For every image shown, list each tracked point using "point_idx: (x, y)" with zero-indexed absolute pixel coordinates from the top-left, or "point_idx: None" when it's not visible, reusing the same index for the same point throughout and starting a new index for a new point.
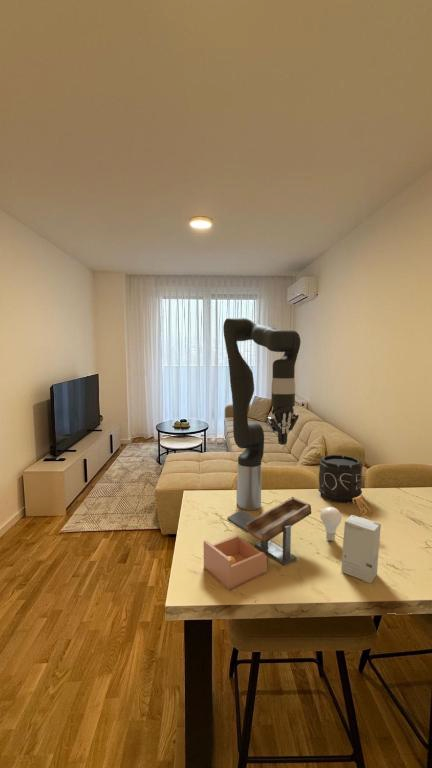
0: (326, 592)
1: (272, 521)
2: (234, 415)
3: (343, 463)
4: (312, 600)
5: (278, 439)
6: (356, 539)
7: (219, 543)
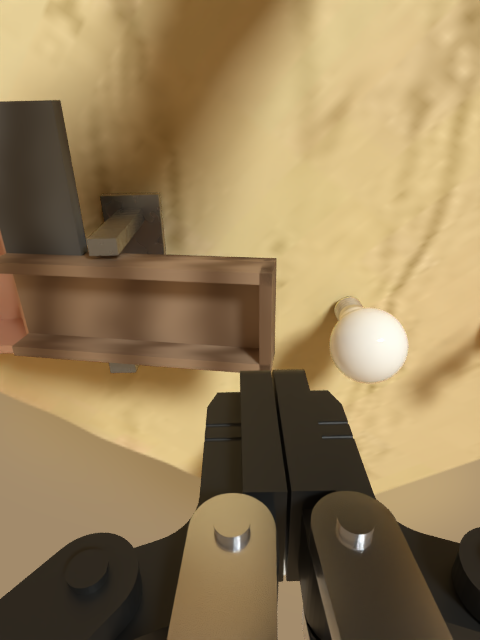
0: (144, 433)
1: (115, 288)
2: None
3: None
4: (98, 434)
5: (207, 430)
6: None
7: None
